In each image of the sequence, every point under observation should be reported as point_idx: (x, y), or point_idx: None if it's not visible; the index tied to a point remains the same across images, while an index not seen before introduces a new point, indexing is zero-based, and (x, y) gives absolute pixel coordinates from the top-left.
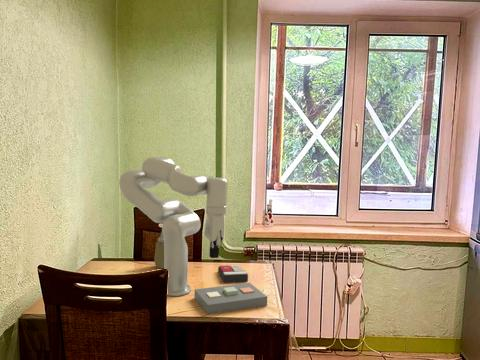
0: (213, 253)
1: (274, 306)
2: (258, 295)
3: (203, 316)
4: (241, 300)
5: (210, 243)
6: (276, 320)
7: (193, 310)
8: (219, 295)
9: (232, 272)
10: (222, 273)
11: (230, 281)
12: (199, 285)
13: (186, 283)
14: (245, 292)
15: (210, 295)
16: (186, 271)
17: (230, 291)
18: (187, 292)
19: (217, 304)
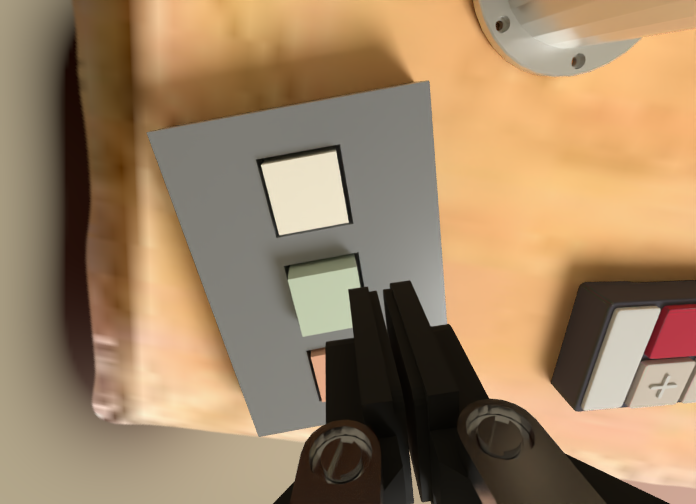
0: (325, 365)
1: (251, 425)
2: (275, 407)
3: (140, 96)
4: (218, 326)
5: (498, 476)
6: (110, 405)
7: (227, 46)
8: (280, 227)
9: (629, 351)
10: (652, 299)
11: (575, 315)
12: (598, 145)
13: (558, 32)
14: (313, 362)
15: (285, 172)
16: (625, 11)
17: (292, 297)
18: (491, 42)
19: (171, 194)
